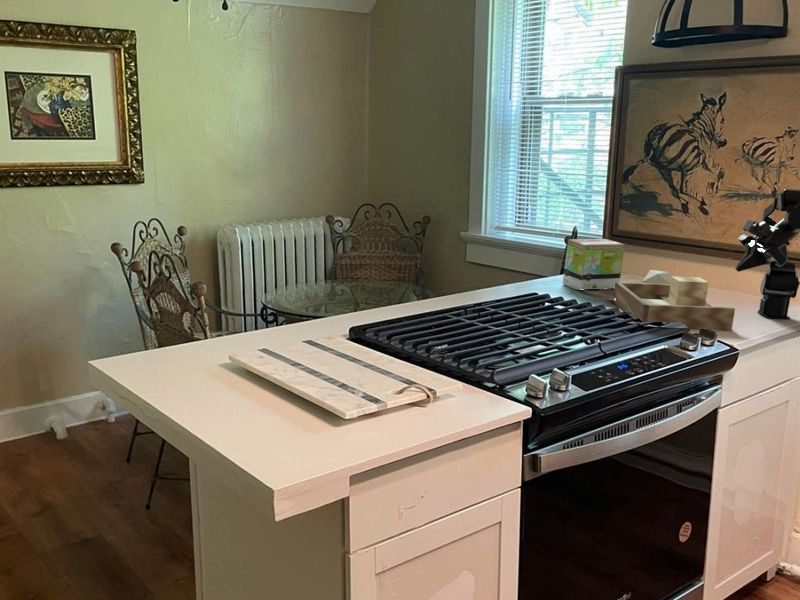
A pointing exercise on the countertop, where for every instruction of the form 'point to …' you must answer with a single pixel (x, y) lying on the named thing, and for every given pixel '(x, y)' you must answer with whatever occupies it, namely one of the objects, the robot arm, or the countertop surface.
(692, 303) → the maple block
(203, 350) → the countertop surface
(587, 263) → the tea box
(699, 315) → the trap box
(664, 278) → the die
